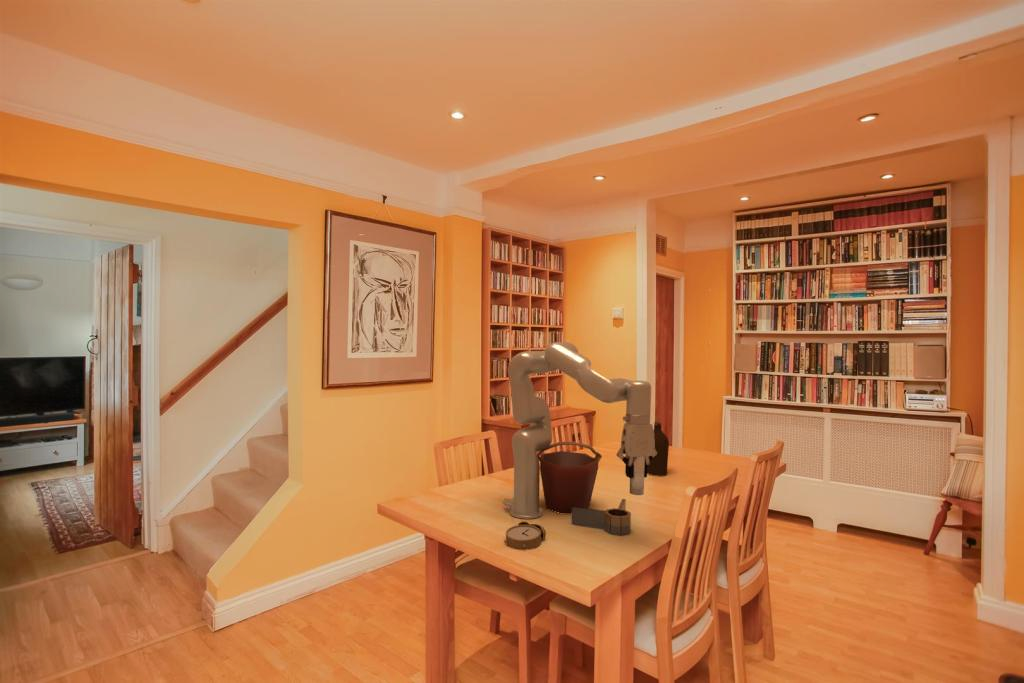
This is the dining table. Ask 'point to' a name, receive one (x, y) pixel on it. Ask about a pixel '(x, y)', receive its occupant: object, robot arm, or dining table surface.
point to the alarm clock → (525, 536)
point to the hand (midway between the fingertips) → (636, 476)
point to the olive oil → (659, 452)
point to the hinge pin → (637, 476)
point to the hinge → (604, 519)
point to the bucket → (568, 477)
